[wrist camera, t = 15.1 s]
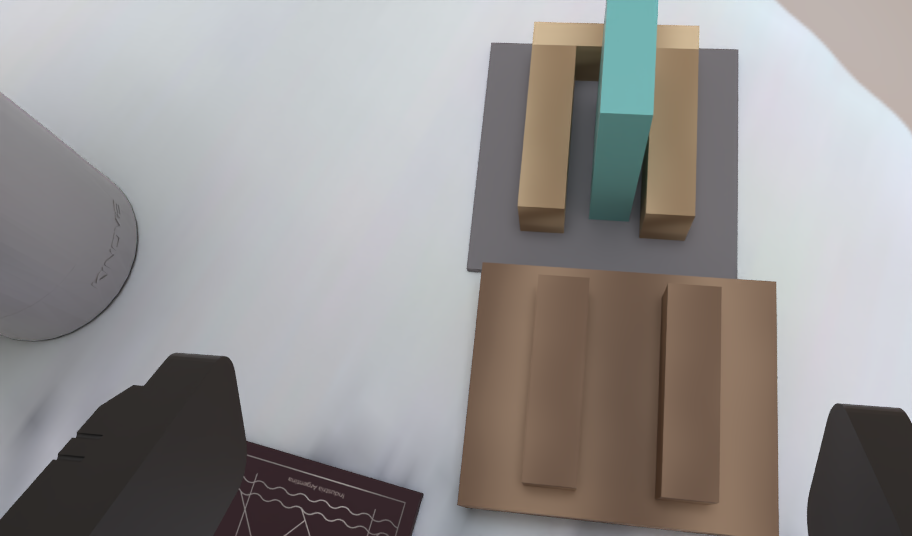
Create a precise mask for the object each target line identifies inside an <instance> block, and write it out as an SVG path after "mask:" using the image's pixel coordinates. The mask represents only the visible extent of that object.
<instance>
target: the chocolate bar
mask: <svg viewBox="0 0 912 536" xmlns="http://www.w3.org/2000/svg"><path fill="white" fill-rule="evenodd" d="M246 443H247V460H246V467H245V472H244V476H243V479H242V482H241V485H240V487H239V489H238V491H237V493H236V495H235V497H234V499H233V500H232V502H231V504H230V506H229V508H228V509H227V511H226V513H225V515H224V517H223V519H222V520H221V522H220V524H219V526H218V528H217V530H216V531H215V533H214V535H213V536H412V532H413V529H414V525H415V522H416V518H417V515H418V511H419V508H420V504H421V501H422V497H423V493H420V492H416V491H413V490H410V489H406V488H403V487H399V486H396V485H393V484H389V483H386V482H383V481H379V480H376V479H373V478H369V477H366V476H363V475H359V474H356V473H352V472H349V471H346V470H342V469H339V468H336V467H332V466H329V465H326V464H322V463H319V462H315V461H312V460H309V459H305V458H302V457H299V456H295V455H292V454H289V453H285V452H282V451H279V450H275V449H272V448H268V447H265V446H262V445H258V444H255V443H252V442H248V441H246Z"/></svg>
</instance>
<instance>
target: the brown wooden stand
mask: <svg viewBox="0 0 912 536" xmlns="http://www.w3.org/2000/svg"><path fill="white" fill-rule="evenodd" d="M457 505H459V506H462V507H466V508H475V509H484V510H493V511H502V512H511V513H520V514H529V515H538V516H547V517H556V518H565V519H575V520H584V521H593V522H602V523H611V524H620V525H629V526H638V527H647V528H656V529H665V530H674V531H683V532H692V533H701V534H710V535H719V536H779V511H778V413H777V314H776V282H771V281H756V280H741V279H726V278H711V277H696V276H681V275H666V274H652V273H637V272H622V271H607V270H592V269H577V268H562V267H547V266H532V265H517V264H502V263H487V262H482V272H481V282H480V291H479V301H478V310H477V320H476V330H475V339H474V349H473V359H472V368H471V378H470V388H469V397H468V407H467V417H466V426H465V436H464V445H463V455H462V465H461V474H460V484H459V494H458V503H457Z"/></svg>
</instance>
